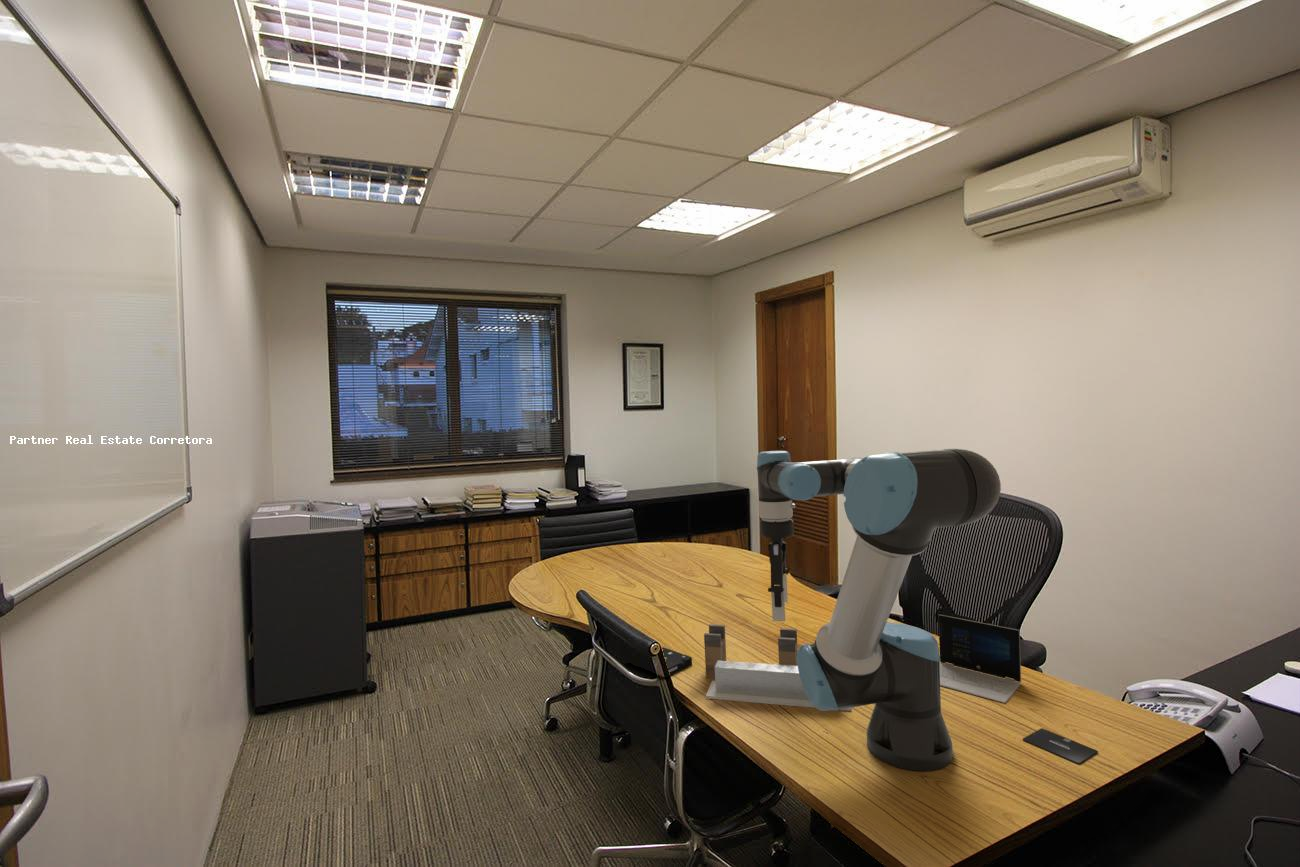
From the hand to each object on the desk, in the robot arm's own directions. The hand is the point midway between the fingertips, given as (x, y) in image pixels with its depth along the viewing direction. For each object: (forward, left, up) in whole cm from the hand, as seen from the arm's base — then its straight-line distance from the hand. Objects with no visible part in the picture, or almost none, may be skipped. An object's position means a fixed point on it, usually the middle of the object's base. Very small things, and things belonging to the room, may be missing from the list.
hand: (780, 610), depth 140 cm
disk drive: (+12, +33, -20) cm, 41 cm away
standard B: (+9, +17, -20) cm, 28 cm away
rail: (-1, +1, -19) cm, 19 cm away
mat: (-1, +1, -20) cm, 20 cm away
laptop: (+14, -42, -20) cm, 48 cm away
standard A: (+9, -1, -20) cm, 22 cm away
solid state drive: (-11, -52, -20) cm, 57 cm away
